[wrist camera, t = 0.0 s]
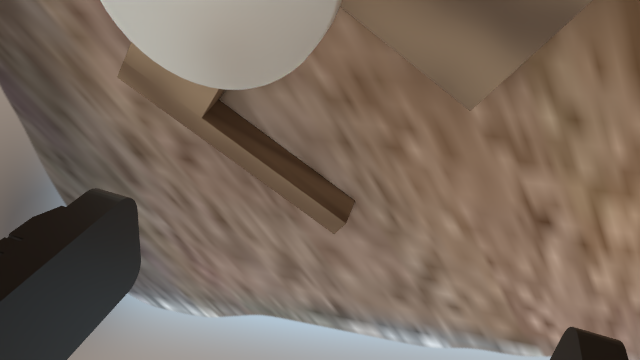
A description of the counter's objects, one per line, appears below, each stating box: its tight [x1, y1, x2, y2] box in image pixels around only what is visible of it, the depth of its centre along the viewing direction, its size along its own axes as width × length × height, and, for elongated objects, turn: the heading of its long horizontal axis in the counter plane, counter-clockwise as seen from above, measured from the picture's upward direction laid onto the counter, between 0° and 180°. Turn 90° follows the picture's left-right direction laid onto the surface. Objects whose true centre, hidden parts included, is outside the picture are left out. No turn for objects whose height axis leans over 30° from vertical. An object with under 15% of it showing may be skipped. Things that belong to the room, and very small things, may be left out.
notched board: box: [117, 0, 593, 234], centre depth 29 cm, size 24×18×2 cm
